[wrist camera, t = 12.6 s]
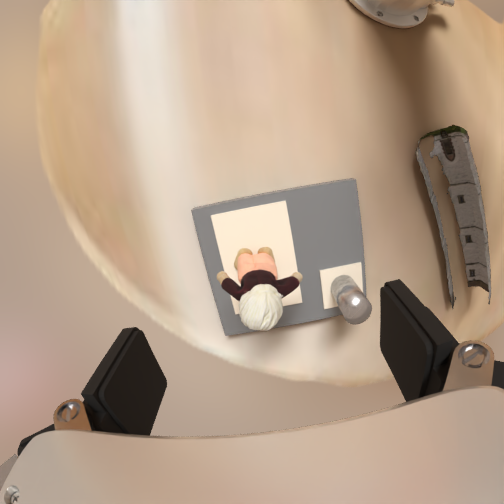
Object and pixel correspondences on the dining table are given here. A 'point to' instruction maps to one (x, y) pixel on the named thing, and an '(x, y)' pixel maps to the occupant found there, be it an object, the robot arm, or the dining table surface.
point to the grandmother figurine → (258, 288)
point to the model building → (461, 203)
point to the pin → (350, 299)
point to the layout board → (286, 246)
